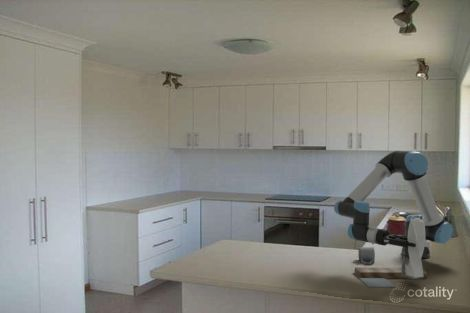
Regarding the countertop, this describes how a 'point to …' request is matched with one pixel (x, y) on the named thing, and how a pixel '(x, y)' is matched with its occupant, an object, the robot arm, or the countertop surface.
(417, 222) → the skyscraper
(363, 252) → the ceramic mug
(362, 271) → the walnut board
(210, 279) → the countertop surface
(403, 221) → the canister
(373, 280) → the end pad
